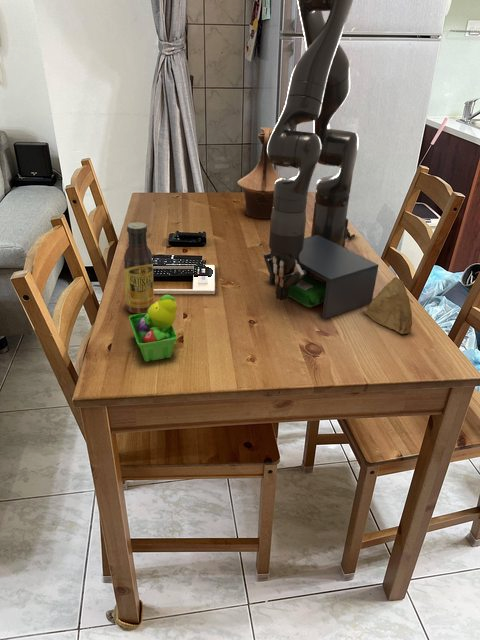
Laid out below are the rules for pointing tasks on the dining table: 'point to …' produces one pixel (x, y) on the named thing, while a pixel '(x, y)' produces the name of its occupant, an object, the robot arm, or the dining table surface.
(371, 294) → the open shelf stand
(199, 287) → the photo frame
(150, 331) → the fruit basket
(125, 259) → the sauce bottle
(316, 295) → the snack package
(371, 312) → the rock
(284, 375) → the dining table surface
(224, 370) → the dining table surface
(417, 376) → the dining table surface
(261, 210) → the brown cone topped pot
